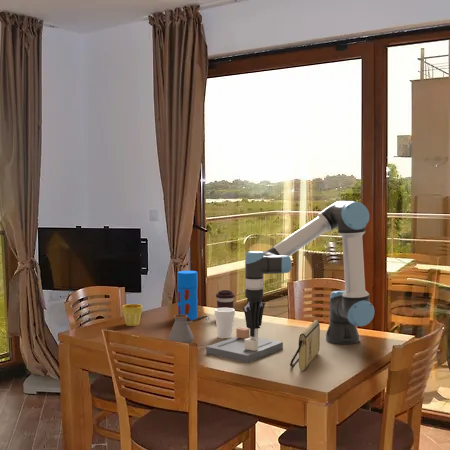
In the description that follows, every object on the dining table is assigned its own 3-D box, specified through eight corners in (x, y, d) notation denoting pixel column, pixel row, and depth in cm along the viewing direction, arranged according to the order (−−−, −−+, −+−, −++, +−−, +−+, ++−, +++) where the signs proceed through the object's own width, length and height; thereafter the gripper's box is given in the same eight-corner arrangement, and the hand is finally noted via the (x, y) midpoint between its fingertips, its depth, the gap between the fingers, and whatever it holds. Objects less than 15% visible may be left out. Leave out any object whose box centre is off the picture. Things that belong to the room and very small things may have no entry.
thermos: (197, 320, 324) (196, 273, 323) (176, 320, 324) (176, 273, 323) (198, 316, 335) (198, 270, 333) (178, 316, 335) (178, 270, 334)
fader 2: (258, 349, 257) (258, 339, 257) (253, 350, 254) (253, 341, 254) (248, 347, 260) (248, 337, 260) (244, 348, 258) (244, 339, 257)
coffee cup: (217, 316, 334) (217, 289, 333) (235, 317, 332) (235, 289, 331) (214, 320, 324) (214, 292, 323) (233, 321, 322) (233, 293, 321)
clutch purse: (304, 351, 265) (304, 317, 264) (320, 353, 263) (320, 318, 262) (286, 371, 238) (287, 333, 236) (304, 373, 235) (304, 335, 234)
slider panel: (282, 348, 269) (282, 341, 269) (248, 362, 249) (248, 355, 249) (242, 340, 283) (242, 334, 283) (206, 353, 262) (206, 346, 262)
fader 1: (249, 337, 276) (249, 328, 276) (245, 338, 274) (245, 329, 273) (240, 335, 279) (240, 327, 279) (236, 337, 277) (236, 328, 276)
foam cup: (237, 335, 293) (237, 308, 292) (229, 340, 284) (229, 312, 283) (219, 333, 297) (219, 306, 296) (211, 338, 288) (211, 310, 287)
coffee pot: (162, 344, 277) (162, 311, 276) (179, 339, 286) (179, 307, 285) (199, 352, 264) (199, 318, 263) (216, 346, 273) (215, 313, 272)
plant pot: (146, 325, 314) (146, 306, 314) (127, 327, 309) (127, 308, 308) (137, 321, 323) (137, 302, 322) (119, 323, 317) (118, 305, 316)
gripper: (255, 285, 265) (255, 339, 266) (237, 289, 254) (237, 345, 256) (270, 287, 260) (270, 342, 262) (252, 291, 250) (252, 348, 251)
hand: (253, 343), depth 259 cm, fingers closed
